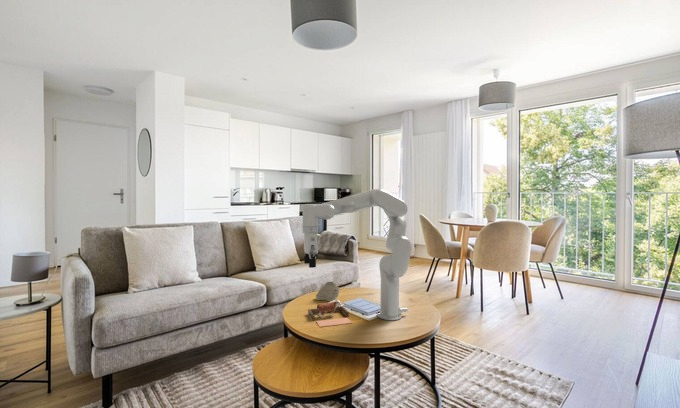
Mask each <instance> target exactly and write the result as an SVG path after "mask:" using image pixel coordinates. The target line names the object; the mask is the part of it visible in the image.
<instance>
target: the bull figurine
mask: <svg viewBox="0 0 680 408" xmlns="http://www.w3.org/2000/svg"><path fill="white" fill-rule="evenodd" d="M338 306H343V305H342V303H341V301H340V300H339V299H335V300H333V301H328V302H323V303H318V304H317V306H316V309H317V310H318V312H317V314H316V315H317V317H318V318H321V317H322V318H323V319H326V316H325V314H326V312H328V311H331V312H330V313H331V314H330V317H334V316H335V315H334V312H333V311H334V310H335V309H336V308H337V307H338ZM324 311H325V313H323V312H324Z"/></svg>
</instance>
